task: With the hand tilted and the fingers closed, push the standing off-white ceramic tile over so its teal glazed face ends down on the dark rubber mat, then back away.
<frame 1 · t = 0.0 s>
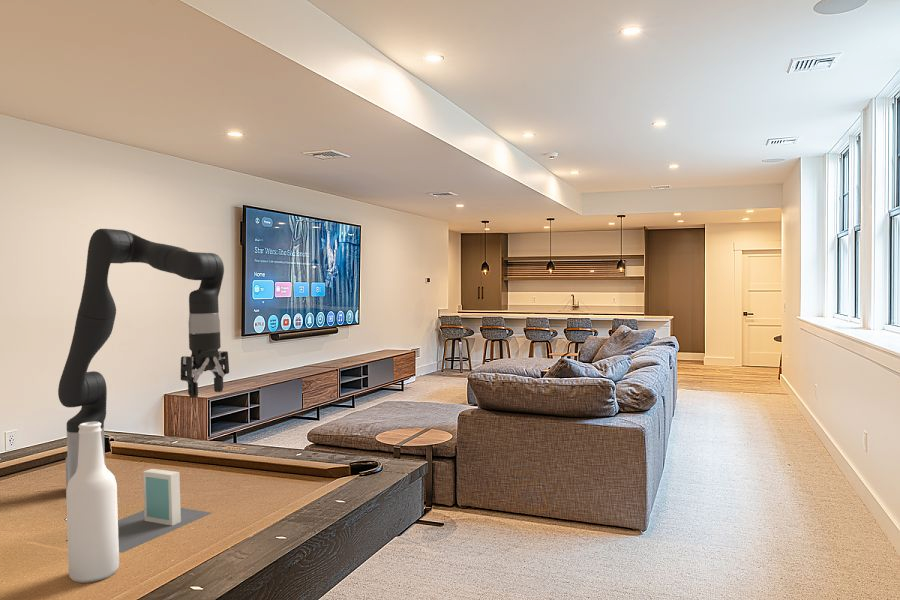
hand: (206, 394, 167), 29 cm above the table, tool pointing down, fingers open, 8 cm apart
mat: (142, 527, 155), on the table
tile: (162, 521, 158), resting on mat
alcohol: (94, 574, 130), on the table
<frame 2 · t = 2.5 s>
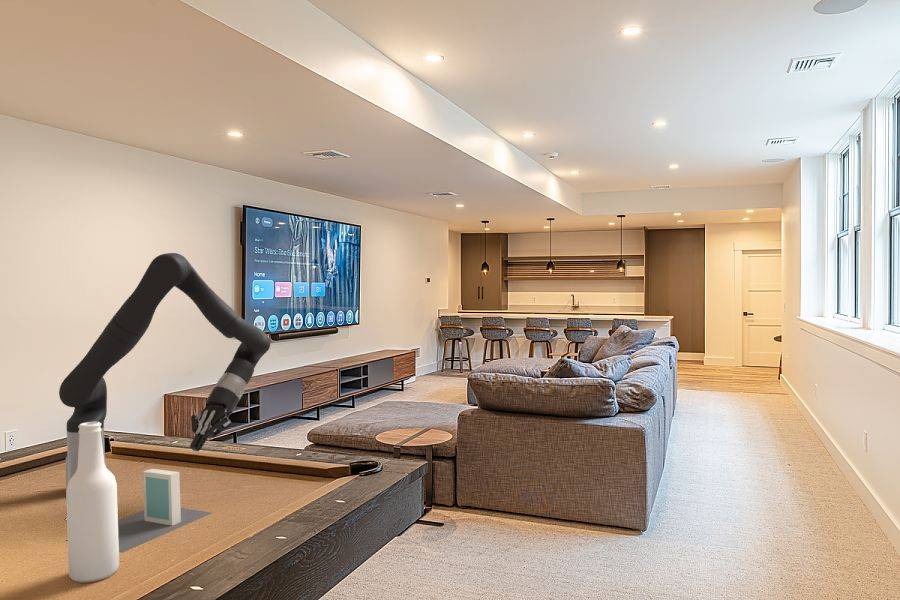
hand: (194, 449, 167), 15 cm above the table, tool tilted 45°, fingers closed
nothing on the table moved.
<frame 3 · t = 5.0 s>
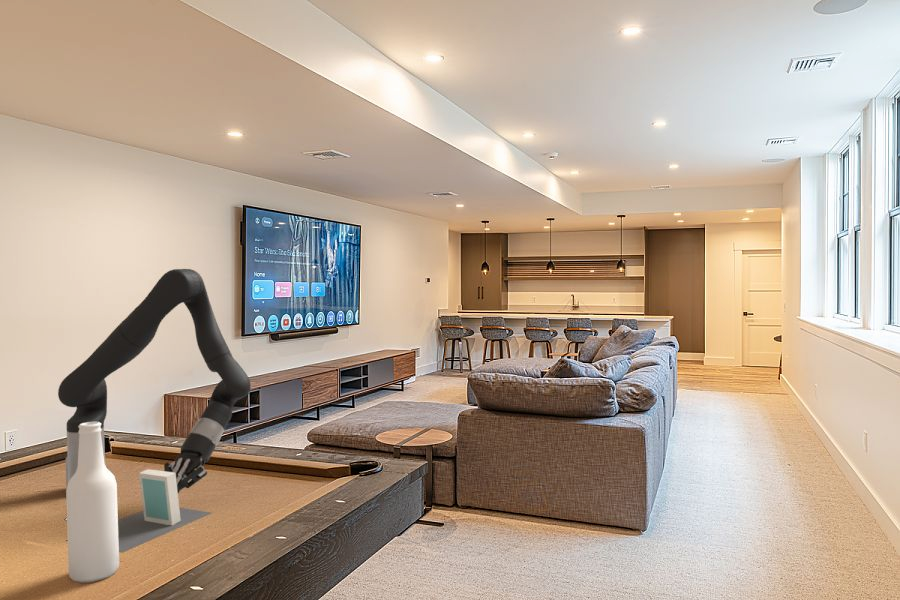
hand: (166, 501, 159), 5 cm above the table, tool tilted 45°, fingers closed
tile: (162, 520, 158), point 1 cm above the table, tilted 6°, touching mat
everything else where it was.
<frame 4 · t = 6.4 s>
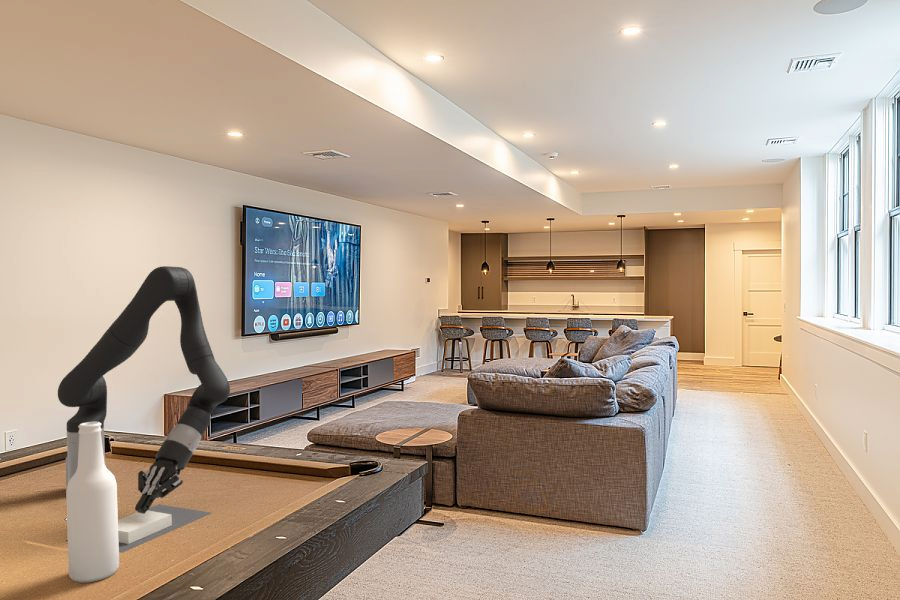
hand: (139, 511, 151), 5 cm above the table, tool tilted 45°, fingers closed
tile: (157, 517, 156), point 2 cm above the table, tilted 90°, touching mat
everything else where it was.
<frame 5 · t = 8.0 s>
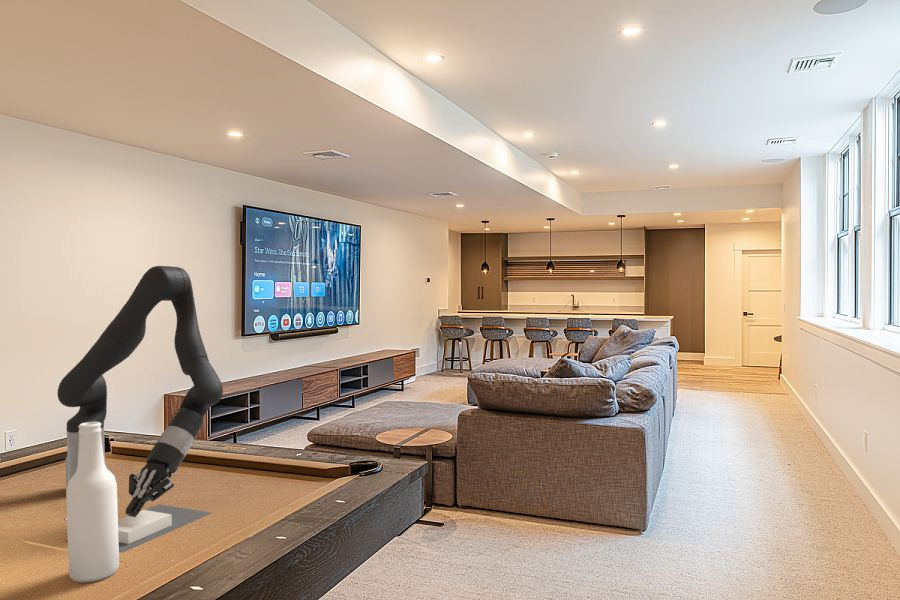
hand: (129, 515, 149), 5 cm above the table, tool tilted 45°, fingers closed
nothing on the table moved.
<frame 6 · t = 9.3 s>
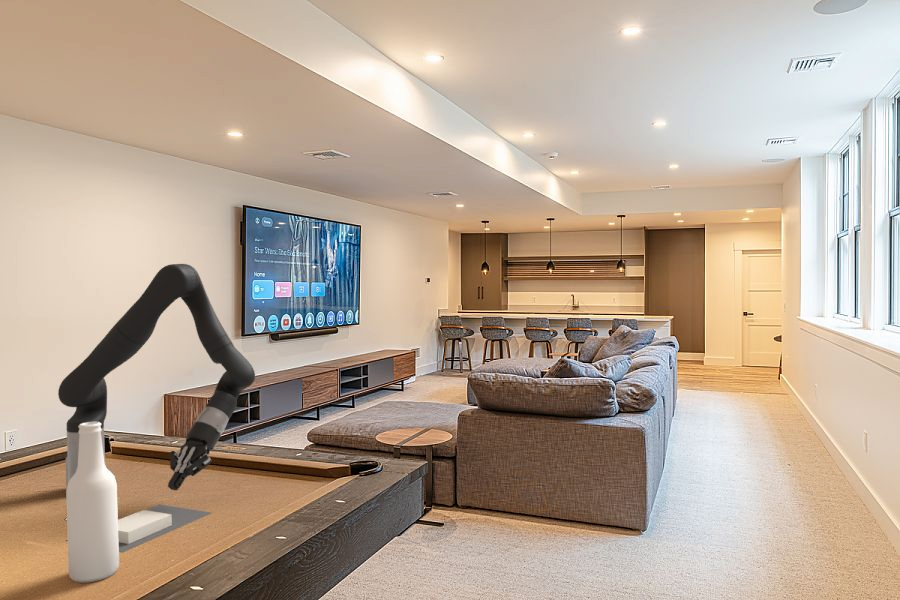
hand: (172, 488, 160), 7 cm above the table, tool tilted 45°, fingers closed
nothing on the table moved.
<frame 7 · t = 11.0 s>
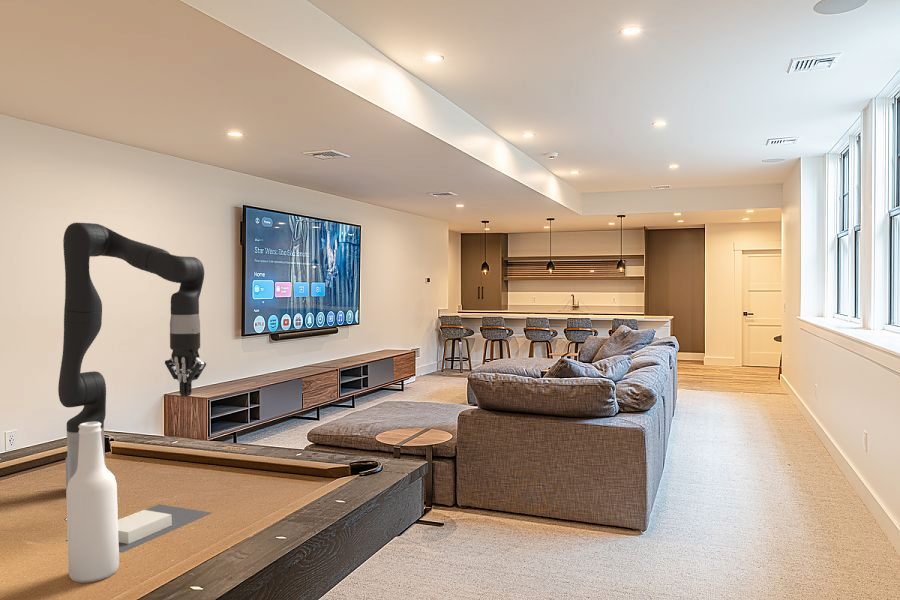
hand: (185, 395, 175), 28 cm above the table, tool pointing down, fingers closed
nothing on the table moved.
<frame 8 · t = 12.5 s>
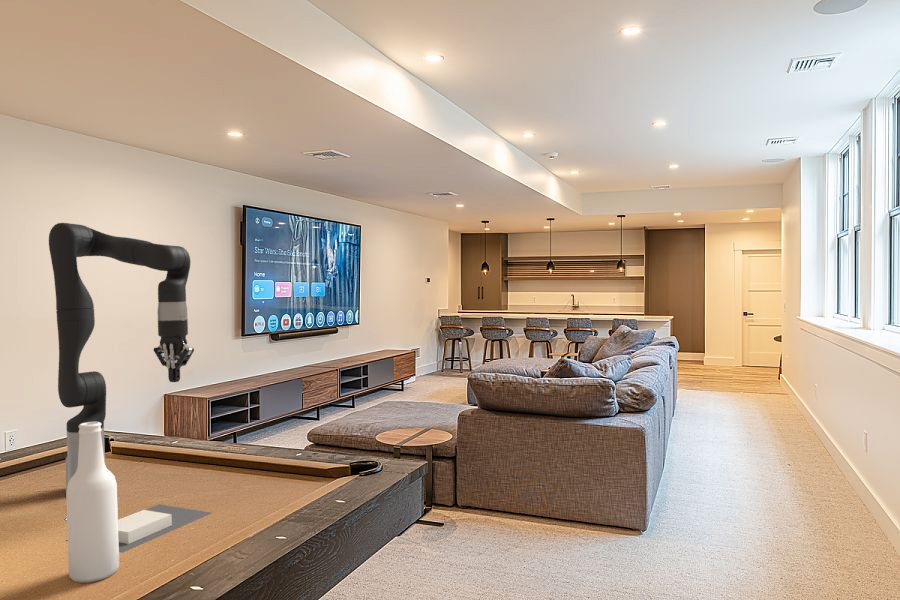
hand: (174, 381, 179), 31 cm above the table, tool pointing down, fingers closed
nothing on the table moved.
at the end: tile tilted 90°; tile inside the target area on the mat (4.1 cm from its centre), point 1.8 cm above the mat's base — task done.
